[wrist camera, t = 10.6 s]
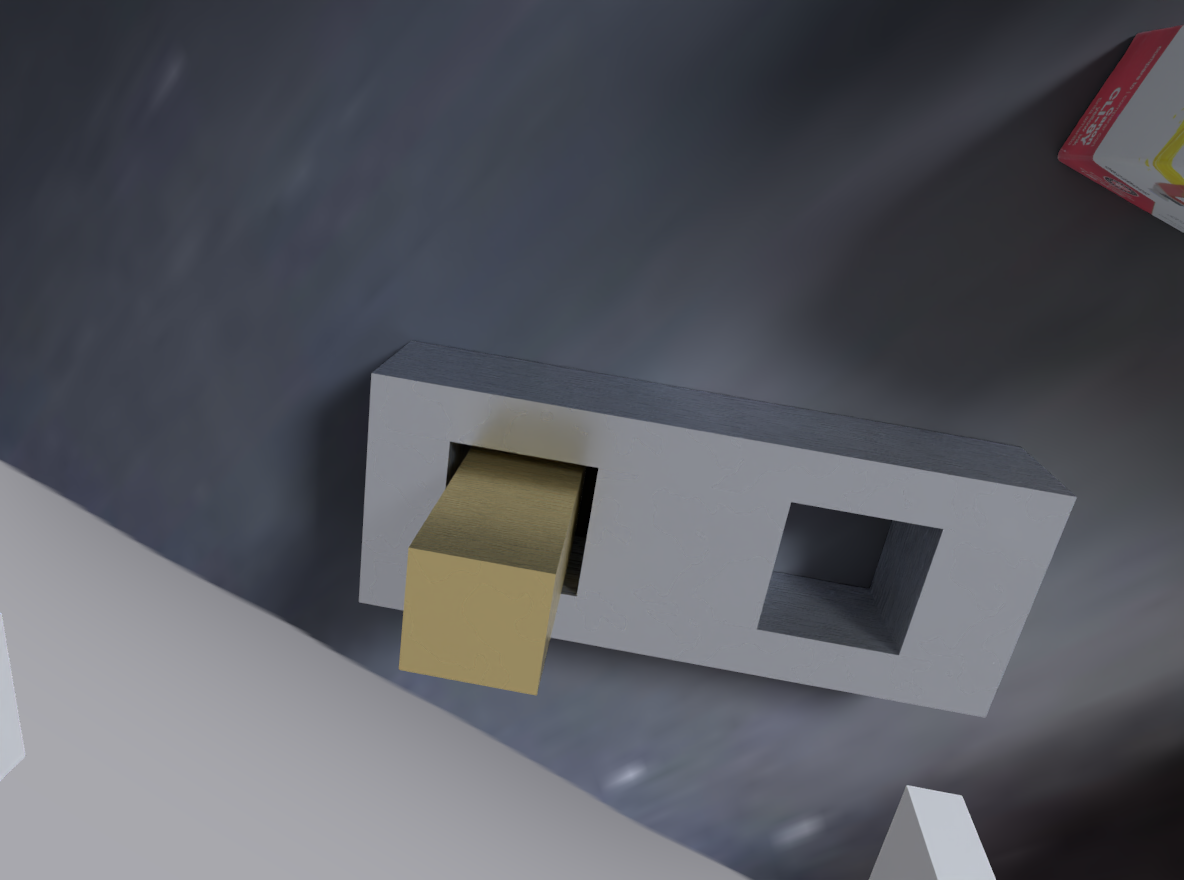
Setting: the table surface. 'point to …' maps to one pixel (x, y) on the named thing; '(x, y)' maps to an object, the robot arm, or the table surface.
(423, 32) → the table surface
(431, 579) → the gold square peg
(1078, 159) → the ink box
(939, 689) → the white peg board
